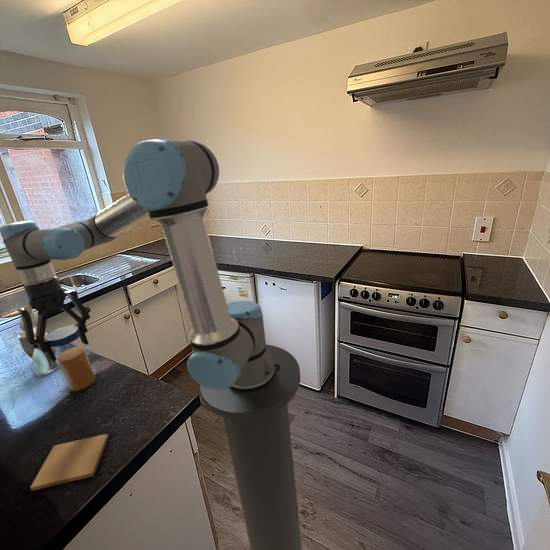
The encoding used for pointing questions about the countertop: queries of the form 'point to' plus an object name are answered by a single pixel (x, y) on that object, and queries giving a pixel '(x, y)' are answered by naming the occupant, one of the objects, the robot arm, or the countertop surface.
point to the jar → (76, 368)
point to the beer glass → (37, 355)
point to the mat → (71, 462)
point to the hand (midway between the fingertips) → (69, 350)
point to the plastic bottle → (34, 324)
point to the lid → (63, 335)
